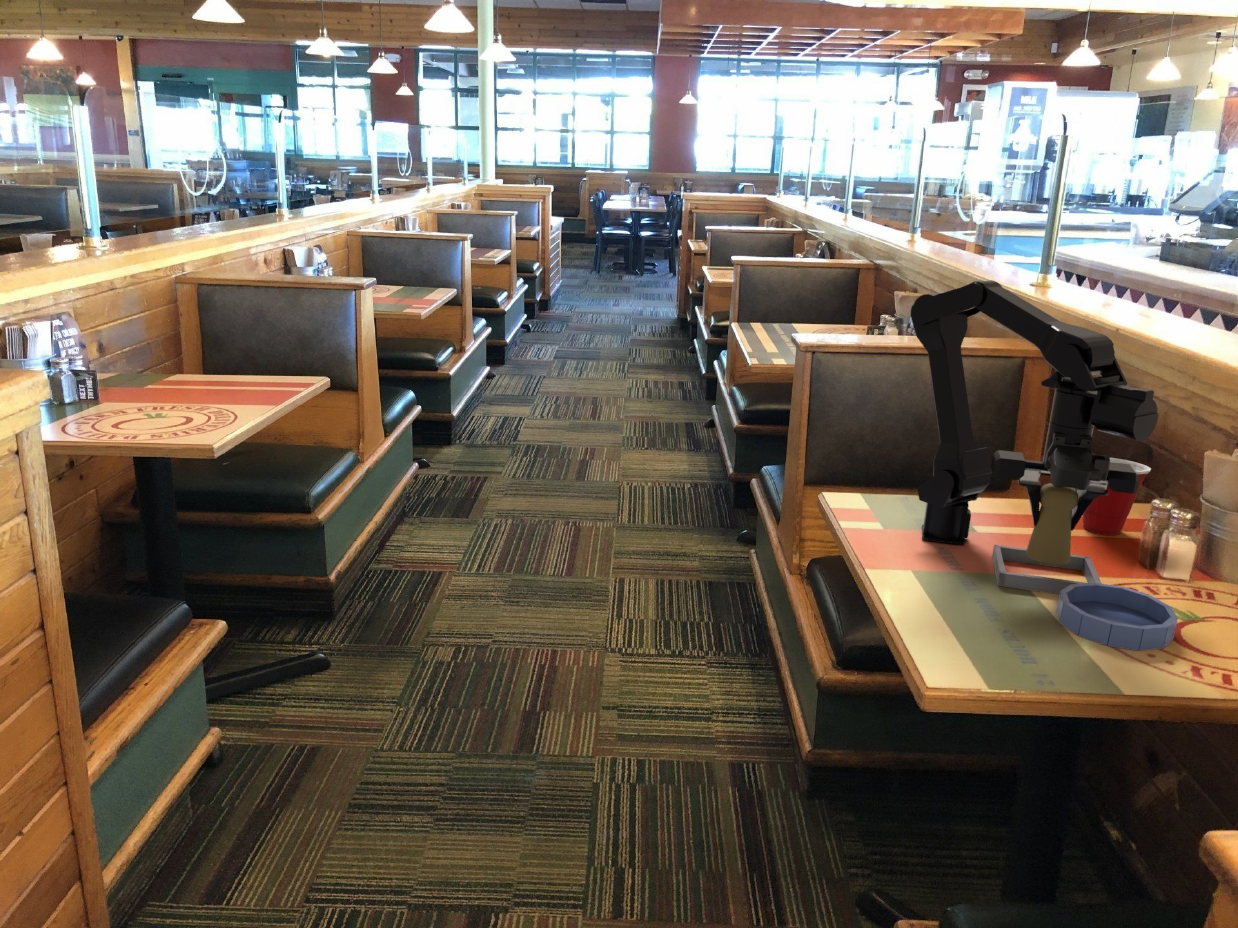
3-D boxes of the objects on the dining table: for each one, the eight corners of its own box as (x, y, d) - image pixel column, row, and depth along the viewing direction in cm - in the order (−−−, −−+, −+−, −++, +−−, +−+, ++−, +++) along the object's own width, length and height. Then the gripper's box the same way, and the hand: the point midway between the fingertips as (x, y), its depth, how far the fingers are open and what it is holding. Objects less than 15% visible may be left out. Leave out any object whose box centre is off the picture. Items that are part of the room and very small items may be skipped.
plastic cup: (1136, 525, 168) (1150, 458, 164) (1138, 545, 158) (1153, 475, 155) (1067, 513, 172) (1079, 448, 168) (1065, 533, 162) (1078, 464, 159)
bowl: (1064, 639, 125) (1068, 618, 124) (1051, 596, 138) (1055, 577, 137) (1182, 657, 121) (1187, 635, 121) (1158, 611, 134) (1162, 591, 133)
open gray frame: (997, 585, 141) (1000, 572, 140) (992, 556, 151) (994, 544, 151) (1100, 600, 137) (1103, 586, 136) (1087, 569, 148) (1089, 557, 147)
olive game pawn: (1062, 550, 146) (1075, 480, 143) (1076, 566, 140) (1090, 493, 137) (1020, 547, 146) (1032, 477, 143) (1032, 563, 141) (1045, 490, 137)
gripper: (1005, 430, 132) (988, 537, 137) (1158, 445, 127) (1134, 556, 132) (999, 411, 142) (983, 512, 147) (1140, 425, 138) (1119, 529, 142)
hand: (1052, 527), depth 142 cm, fingers closed on olive game pawn, 4 cm apart
